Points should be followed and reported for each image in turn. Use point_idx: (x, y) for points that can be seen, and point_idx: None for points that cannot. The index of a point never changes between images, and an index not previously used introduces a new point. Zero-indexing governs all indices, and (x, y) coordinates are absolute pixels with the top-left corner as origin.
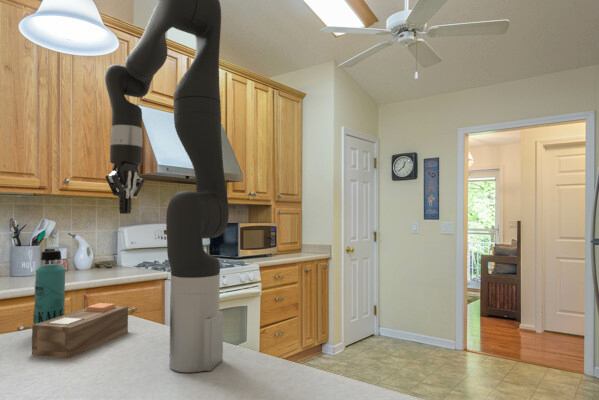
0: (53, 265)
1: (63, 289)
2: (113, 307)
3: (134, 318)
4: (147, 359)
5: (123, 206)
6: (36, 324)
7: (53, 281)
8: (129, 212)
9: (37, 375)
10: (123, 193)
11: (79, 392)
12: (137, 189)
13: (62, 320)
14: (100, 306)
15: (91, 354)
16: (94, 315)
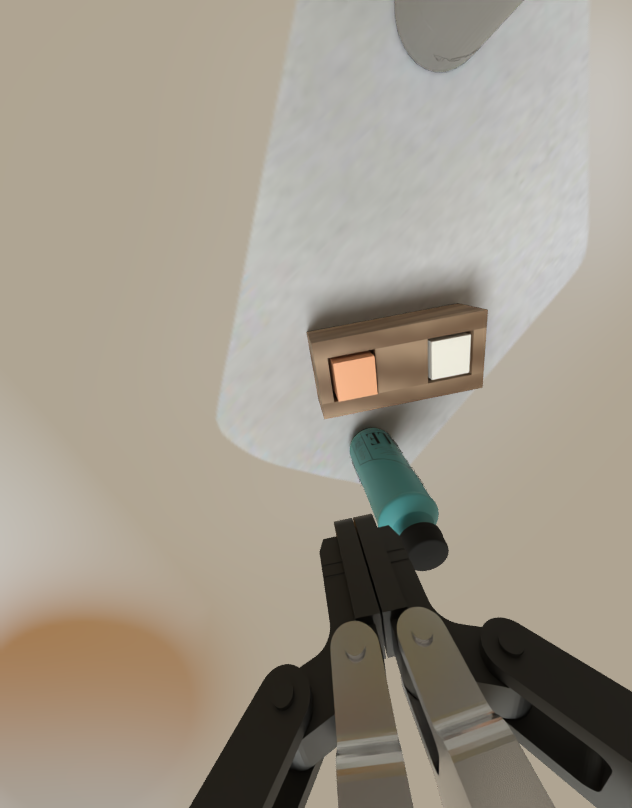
0: (418, 516)
1: (383, 468)
2: (337, 361)
3: (224, 394)
4: (437, 149)
5: (405, 557)
6: (478, 384)
7: (415, 480)
8: (347, 520)
9: (527, 281)
10: (514, 636)
11: (581, 151)
12: (254, 791)
13: (450, 365)
14: (365, 371)
15: (435, 283)
16: (399, 346)
